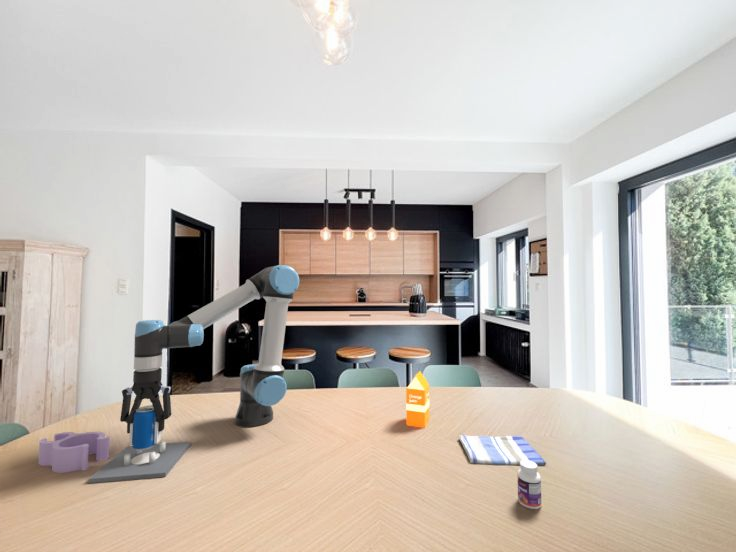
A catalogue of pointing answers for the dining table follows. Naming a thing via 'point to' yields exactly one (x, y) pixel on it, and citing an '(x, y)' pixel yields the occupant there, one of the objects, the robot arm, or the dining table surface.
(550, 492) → the dining table surface
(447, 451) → the dining table surface
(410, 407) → the orange juice
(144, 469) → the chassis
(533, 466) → the pill bottle
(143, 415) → the beverage can
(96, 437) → the clip
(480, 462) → the dish towel
